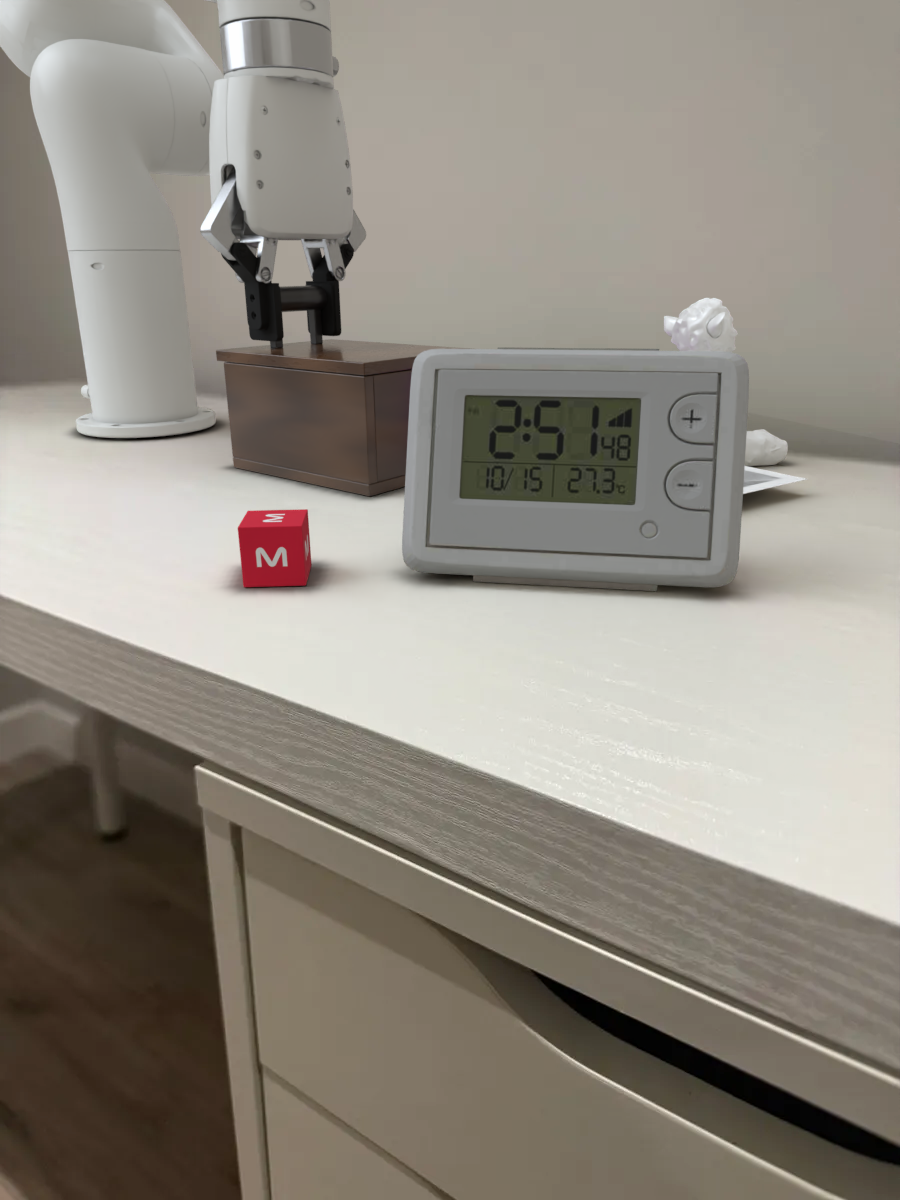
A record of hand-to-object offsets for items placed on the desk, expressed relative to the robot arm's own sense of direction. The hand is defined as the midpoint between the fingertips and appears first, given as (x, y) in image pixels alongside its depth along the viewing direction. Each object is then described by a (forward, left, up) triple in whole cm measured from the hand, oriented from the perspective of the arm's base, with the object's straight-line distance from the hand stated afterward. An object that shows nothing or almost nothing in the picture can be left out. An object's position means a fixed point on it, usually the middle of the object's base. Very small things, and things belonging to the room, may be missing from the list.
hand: (296, 335), depth 67 cm
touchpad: (+30, +6, -10) cm, 32 cm away
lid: (+5, 0, -2) cm, 6 cm away
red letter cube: (+21, -20, -10) cm, 30 cm away
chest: (+6, 0, -9) cm, 11 cm away
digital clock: (+31, -11, -10) cm, 35 cm away
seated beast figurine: (+26, +18, -10) cm, 33 cm away
